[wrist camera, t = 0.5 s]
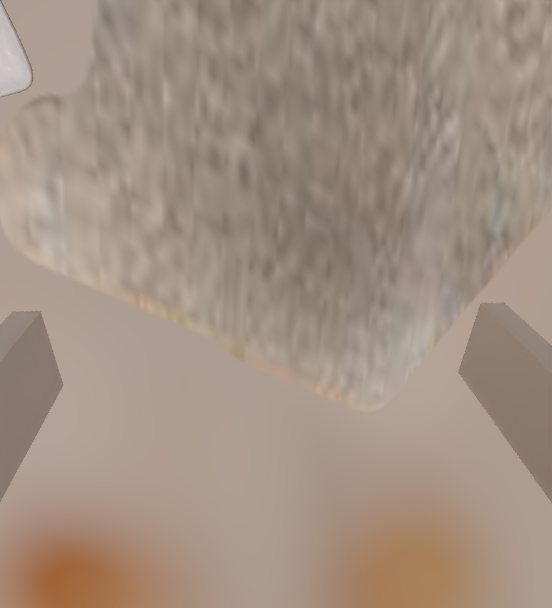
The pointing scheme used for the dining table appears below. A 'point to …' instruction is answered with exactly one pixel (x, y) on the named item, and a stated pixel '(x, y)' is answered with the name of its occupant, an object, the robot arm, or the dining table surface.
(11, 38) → the salad plate
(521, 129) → the dining table surface
